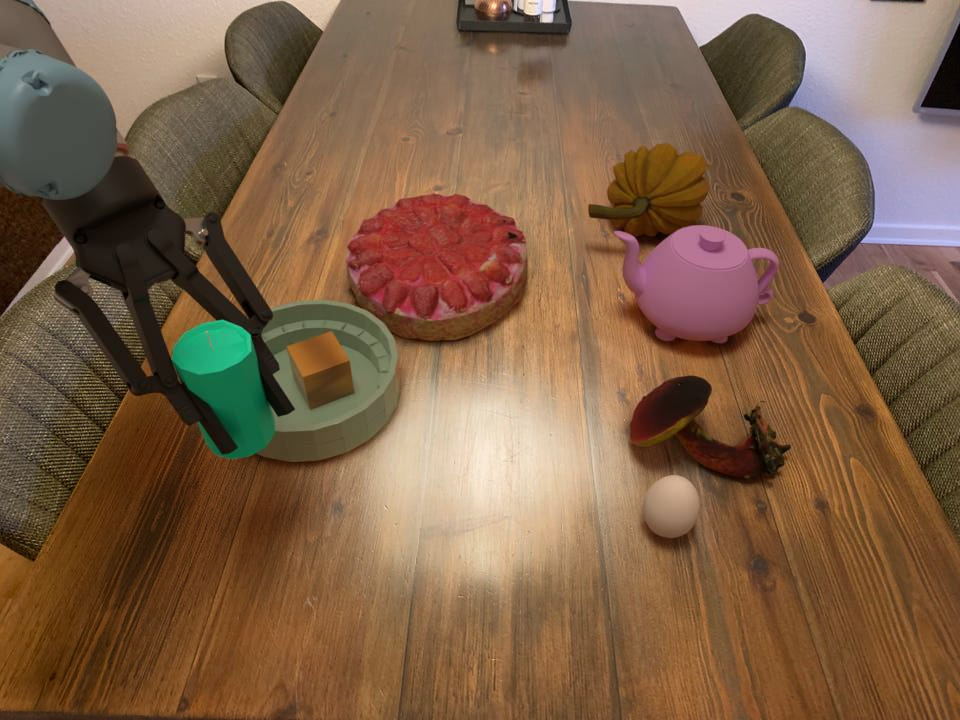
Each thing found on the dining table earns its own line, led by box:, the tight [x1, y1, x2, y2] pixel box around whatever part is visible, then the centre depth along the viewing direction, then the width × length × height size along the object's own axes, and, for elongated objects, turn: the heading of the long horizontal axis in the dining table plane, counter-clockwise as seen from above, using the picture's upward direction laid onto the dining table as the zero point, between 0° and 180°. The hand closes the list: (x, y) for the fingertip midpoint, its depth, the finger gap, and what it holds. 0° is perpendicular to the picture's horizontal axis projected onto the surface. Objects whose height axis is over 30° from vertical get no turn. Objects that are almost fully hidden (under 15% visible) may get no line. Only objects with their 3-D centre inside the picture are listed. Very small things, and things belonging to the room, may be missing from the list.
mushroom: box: [629, 374, 792, 480], centre depth 78 cm, size 12×12×15 cm
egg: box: [641, 474, 701, 539], centre depth 70 cm, size 5×5×8 cm
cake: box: [345, 192, 529, 342], centre depth 97 cm, size 25×25×8 cm
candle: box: [171, 320, 275, 460], centre depth 58 cm, size 6×6×12 cm
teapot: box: [613, 224, 780, 344], centre depth 91 cm, size 22×16×14 cm
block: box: [286, 331, 354, 410], centre depth 82 cm, size 6×6×6 cm
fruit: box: [587, 142, 710, 238], centre depth 105 cm, size 14×16×20 cm
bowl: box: [256, 299, 402, 463], centre depth 82 cm, size 21×21×6 cm
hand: (258, 431), depth 58 cm, fingers closed on candle, 5 cm apart
